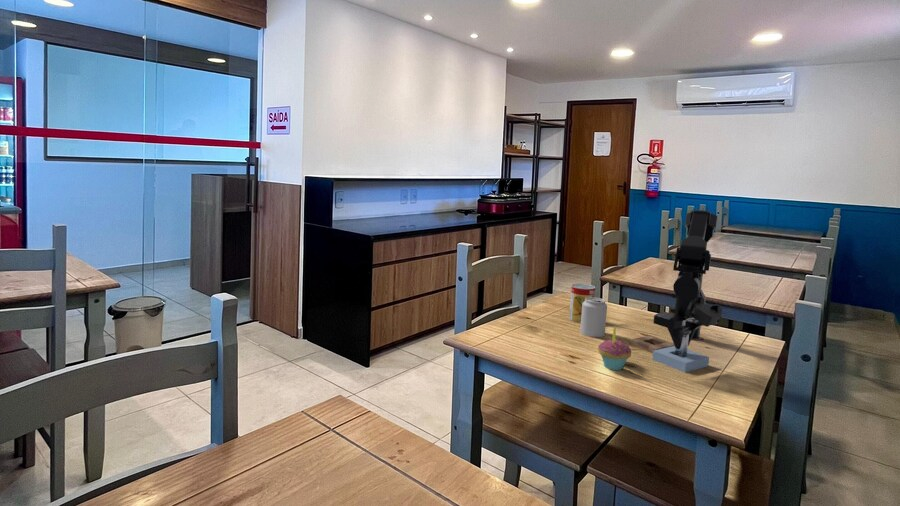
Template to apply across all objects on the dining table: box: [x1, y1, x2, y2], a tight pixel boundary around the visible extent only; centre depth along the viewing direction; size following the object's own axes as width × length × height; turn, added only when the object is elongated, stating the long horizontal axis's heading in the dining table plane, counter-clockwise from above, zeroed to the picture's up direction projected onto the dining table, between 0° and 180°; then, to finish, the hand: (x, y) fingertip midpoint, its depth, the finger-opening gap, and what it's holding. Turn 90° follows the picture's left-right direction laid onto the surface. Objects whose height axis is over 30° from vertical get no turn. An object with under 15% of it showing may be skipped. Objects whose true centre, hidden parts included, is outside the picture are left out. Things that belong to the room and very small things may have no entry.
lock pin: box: [675, 328, 691, 358], centre depth 143 cm, size 4×4×8 cm
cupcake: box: [597, 324, 632, 371], centre depth 141 cm, size 9×8×12 cm
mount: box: [629, 334, 675, 354], centre depth 156 cm, size 9×9×2 cm
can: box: [579, 296, 608, 338], centre depth 166 cm, size 8×8×12 cm
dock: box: [652, 346, 710, 373], centre depth 144 cm, size 10×10×4 cm
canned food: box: [568, 283, 596, 324], centre depth 184 cm, size 8×8×12 cm
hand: (681, 347), depth 143 cm, fingers closed on lock pin, 3 cm apart
